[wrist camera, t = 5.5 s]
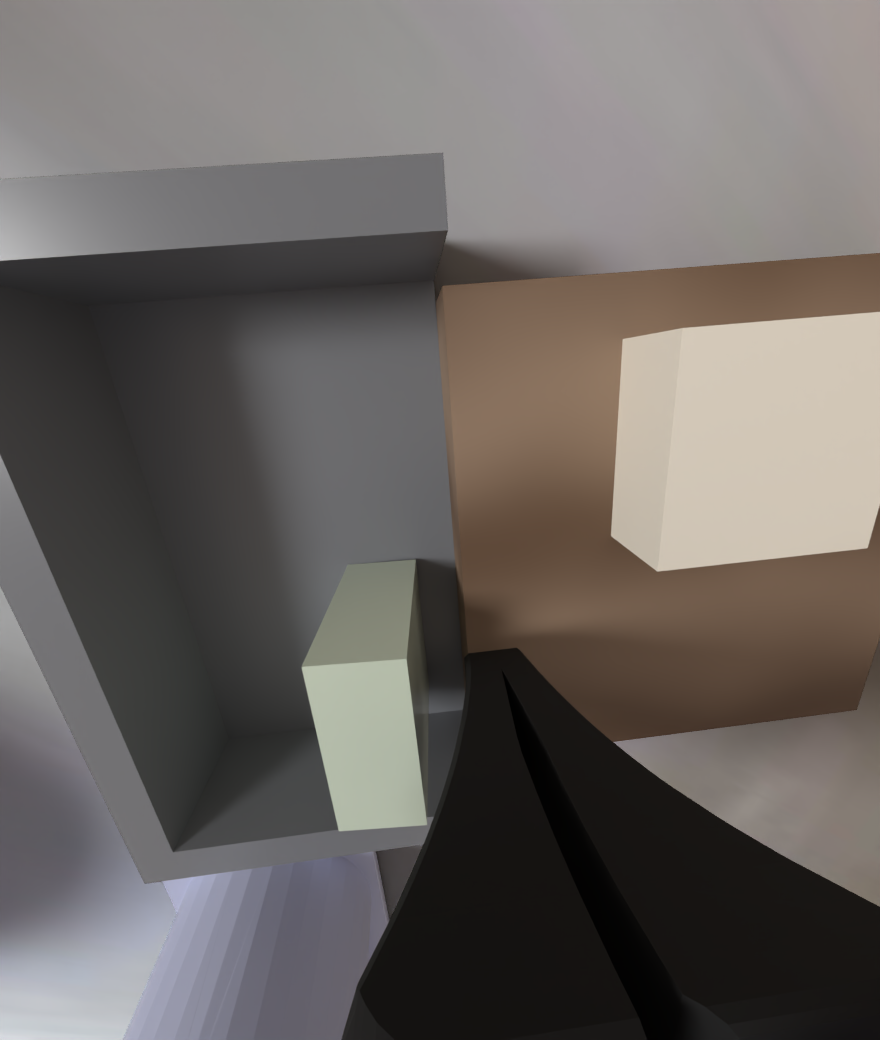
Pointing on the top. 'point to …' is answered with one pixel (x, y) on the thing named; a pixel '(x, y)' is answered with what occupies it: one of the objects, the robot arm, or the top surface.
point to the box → (221, 479)
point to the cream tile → (748, 441)
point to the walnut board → (589, 503)
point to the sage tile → (373, 697)
